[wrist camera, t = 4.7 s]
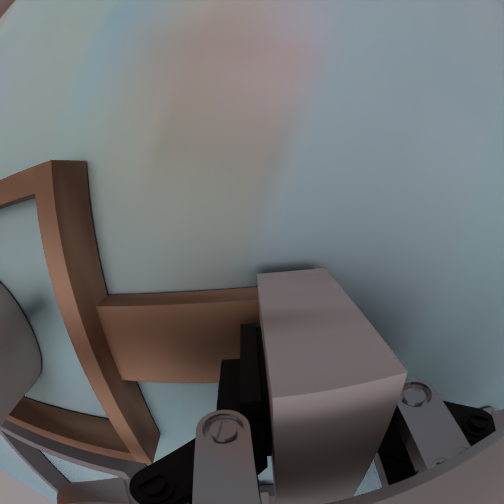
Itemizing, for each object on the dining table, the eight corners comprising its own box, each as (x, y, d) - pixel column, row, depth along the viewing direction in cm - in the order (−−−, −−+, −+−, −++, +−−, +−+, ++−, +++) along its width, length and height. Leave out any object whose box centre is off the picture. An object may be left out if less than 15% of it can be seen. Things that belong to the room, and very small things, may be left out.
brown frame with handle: (320, 428, 14) (346, 525, 7) (6, 396, 14) (-30, 444, 7) (329, 132, 10) (455, 80, 3) (-58, 217, 9) (-121, 241, 3)
